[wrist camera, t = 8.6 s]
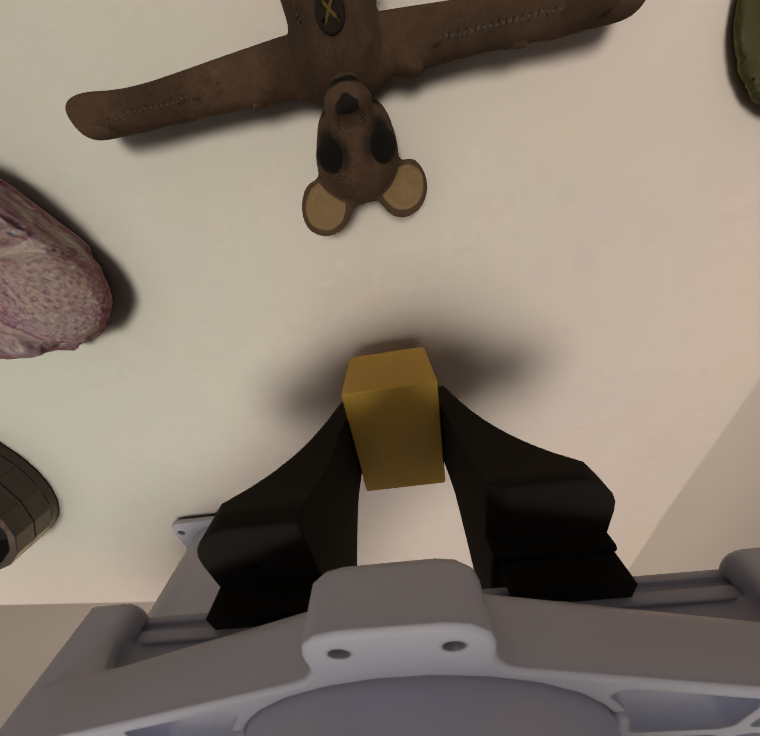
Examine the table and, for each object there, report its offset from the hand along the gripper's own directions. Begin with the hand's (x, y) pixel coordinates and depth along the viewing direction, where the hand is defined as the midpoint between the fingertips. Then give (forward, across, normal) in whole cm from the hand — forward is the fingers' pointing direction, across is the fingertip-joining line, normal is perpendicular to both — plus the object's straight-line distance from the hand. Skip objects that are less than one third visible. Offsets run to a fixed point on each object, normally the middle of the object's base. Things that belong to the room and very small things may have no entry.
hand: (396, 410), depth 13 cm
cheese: (+1, 0, 0) cm, 1 cm away
